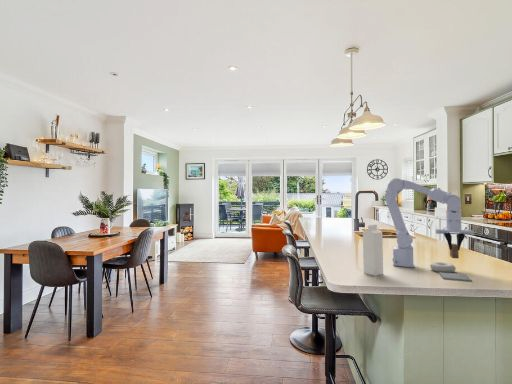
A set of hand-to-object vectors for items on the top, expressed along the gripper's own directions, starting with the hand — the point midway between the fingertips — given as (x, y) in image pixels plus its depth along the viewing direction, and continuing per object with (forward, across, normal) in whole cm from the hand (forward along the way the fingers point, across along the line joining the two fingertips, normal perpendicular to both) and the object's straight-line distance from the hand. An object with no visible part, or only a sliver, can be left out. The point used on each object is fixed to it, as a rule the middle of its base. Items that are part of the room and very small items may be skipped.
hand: (454, 249), depth 136 cm
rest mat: (+10, -2, -14) cm, 17 cm away
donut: (+8, -2, 0) cm, 8 cm away
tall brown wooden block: (+4, 0, +1) cm, 4 cm away
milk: (+10, -34, -20) cm, 41 cm away
